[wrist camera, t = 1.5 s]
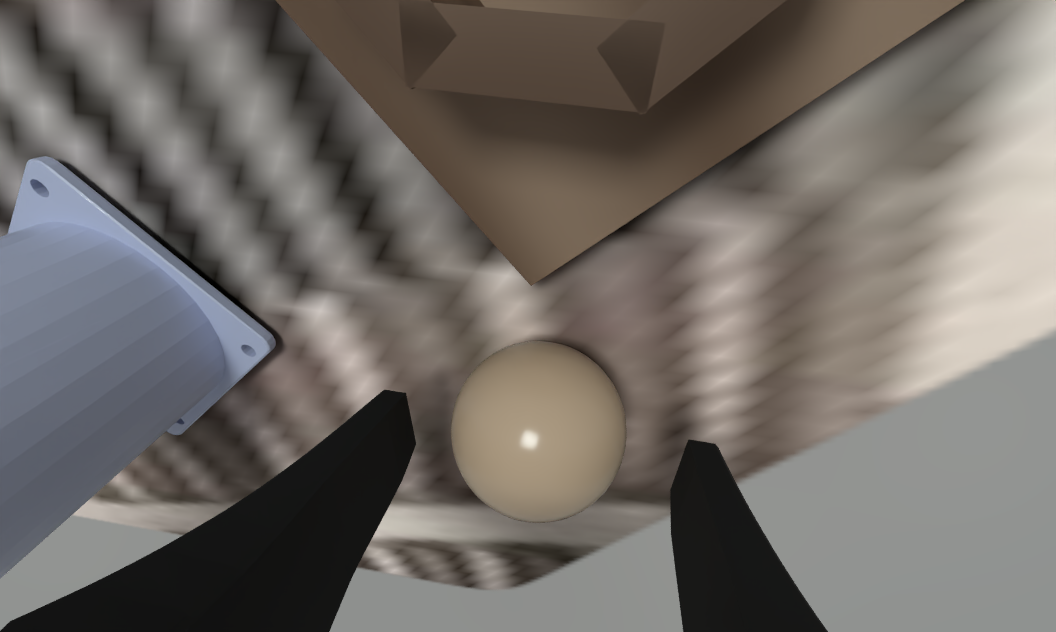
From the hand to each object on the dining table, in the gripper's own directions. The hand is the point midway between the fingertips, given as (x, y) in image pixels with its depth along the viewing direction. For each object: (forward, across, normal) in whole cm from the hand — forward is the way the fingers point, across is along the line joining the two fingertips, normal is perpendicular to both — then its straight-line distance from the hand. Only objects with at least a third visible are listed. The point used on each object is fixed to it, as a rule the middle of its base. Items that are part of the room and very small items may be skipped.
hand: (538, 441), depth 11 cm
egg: (0, 0, 0) cm, 0 cm away
